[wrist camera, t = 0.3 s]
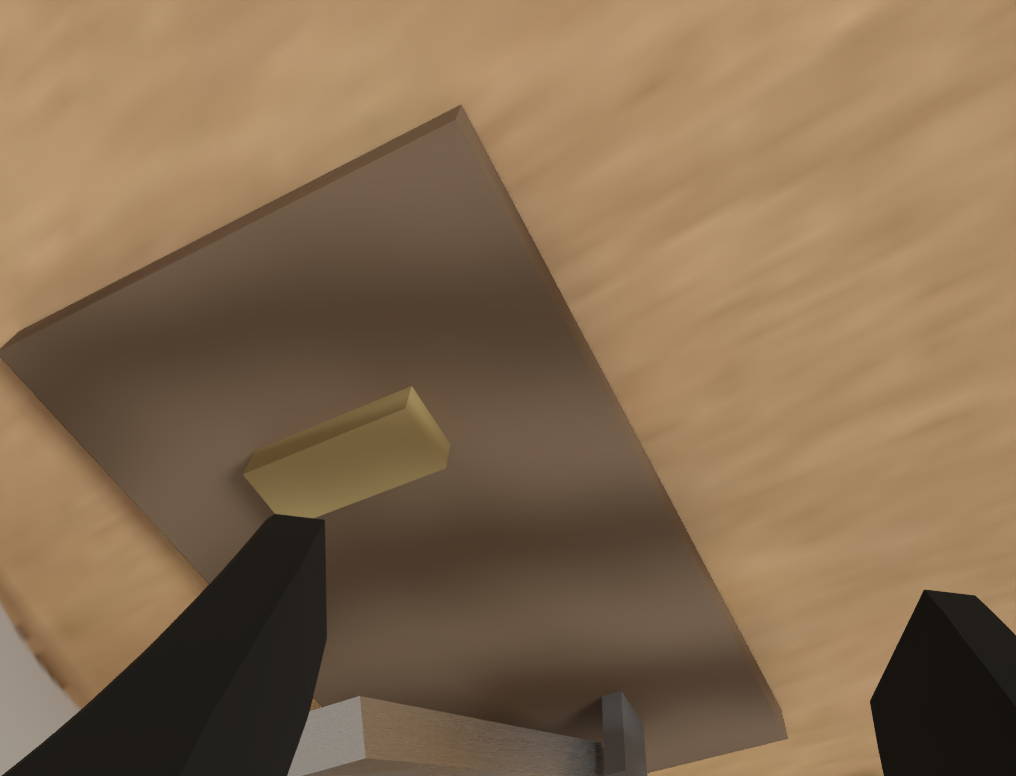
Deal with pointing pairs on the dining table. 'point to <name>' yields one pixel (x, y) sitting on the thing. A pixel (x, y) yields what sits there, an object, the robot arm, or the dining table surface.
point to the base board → (414, 455)
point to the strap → (432, 745)
